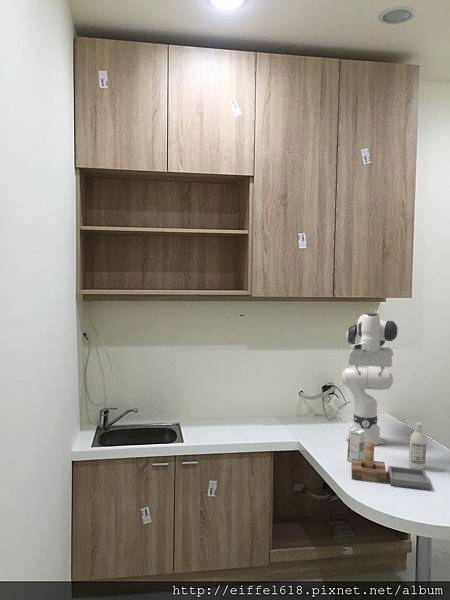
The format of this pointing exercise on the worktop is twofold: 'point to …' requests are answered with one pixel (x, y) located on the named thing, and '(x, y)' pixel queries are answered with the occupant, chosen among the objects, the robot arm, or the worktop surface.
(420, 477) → the tray
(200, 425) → the worktop surface
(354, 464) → the holder
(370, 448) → the dowel
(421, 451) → the bath foam
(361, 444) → the syrup box
